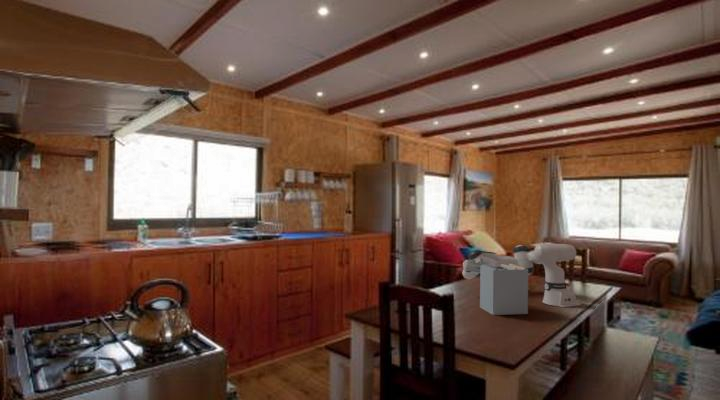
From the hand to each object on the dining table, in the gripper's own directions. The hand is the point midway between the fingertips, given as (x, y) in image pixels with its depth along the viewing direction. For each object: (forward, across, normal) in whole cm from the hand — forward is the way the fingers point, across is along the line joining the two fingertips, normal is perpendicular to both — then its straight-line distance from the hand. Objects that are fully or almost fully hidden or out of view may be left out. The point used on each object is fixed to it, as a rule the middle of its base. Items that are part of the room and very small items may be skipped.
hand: (484, 259), depth 238 cm
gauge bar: (+5, 0, -5) cm, 7 cm away
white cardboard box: (-4, -6, -32) cm, 32 cm away
